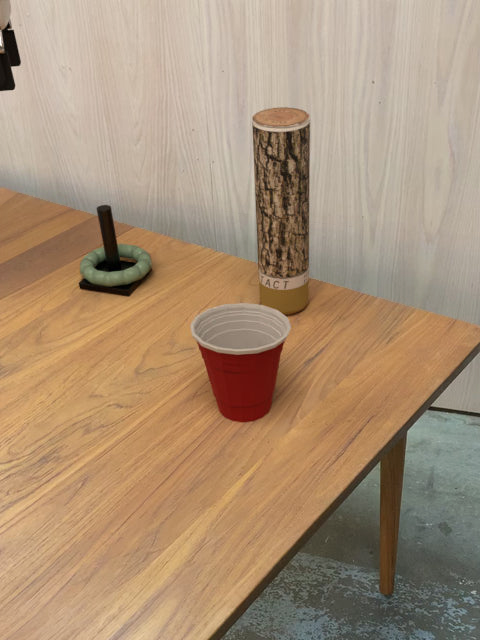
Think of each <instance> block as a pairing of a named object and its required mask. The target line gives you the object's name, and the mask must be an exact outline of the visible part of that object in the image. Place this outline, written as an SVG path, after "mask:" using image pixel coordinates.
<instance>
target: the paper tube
mask: <svg viewBox="0 0 480 640" xmlns="http://www.w3.org/2000/svg"><path fill="white" fill-rule="evenodd" d="M310 117H311V115H310V113H308V112H307V111H306V110H303V109H299V108H296V107H287V106H285V107H284V106H282V107H281V106H280V107H269V108H266V109H262V110H259V111H257V112H256V113H254V114H253V116H252V117H251V118H252V122H251V125H252V127H251V128H252V151H253V152H252V153H253V174H254V196H255V197H254V198H255V199H254V200H255V221H256V245H257V246H256V247H257V249H256V250H257V270H258V287H259V288H258V290H259V291H258V292H259V293H258V294H259V303H260V305H264V306H267V307H270V308H273V309H276V310H278V311H279V312H281V313H282V314H283V315H285V316H287V315H288V316H289V315H295V314H297V313H298V312H301V311H303V310H304V309H305V308H306V307H307V305H308V303H309V298H310V297H309V295H310V294H309V289H310V286H309V285H310V284H309V283H310V281H309V280H310V279H309V278H310V186H311V185H310V183H311V181H310V178H311V177H310V175H311V172H310V171H311V169H310V165H311V164H310V162H311V157H310V155H311V119H310Z"/></svg>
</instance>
